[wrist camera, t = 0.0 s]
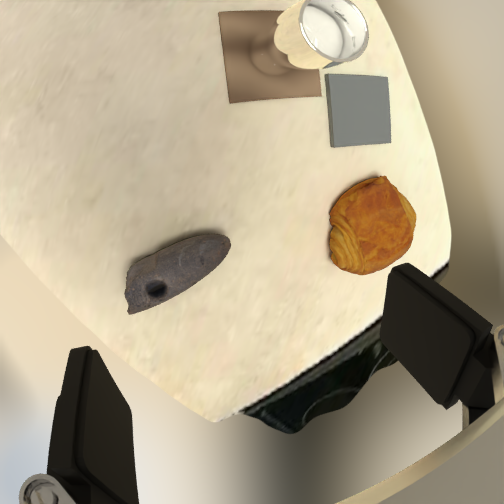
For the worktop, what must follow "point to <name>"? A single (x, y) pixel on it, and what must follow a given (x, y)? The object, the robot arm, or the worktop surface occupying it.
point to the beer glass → (311, 37)
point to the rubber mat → (358, 109)
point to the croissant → (371, 227)
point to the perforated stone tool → (173, 270)
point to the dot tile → (243, 70)
